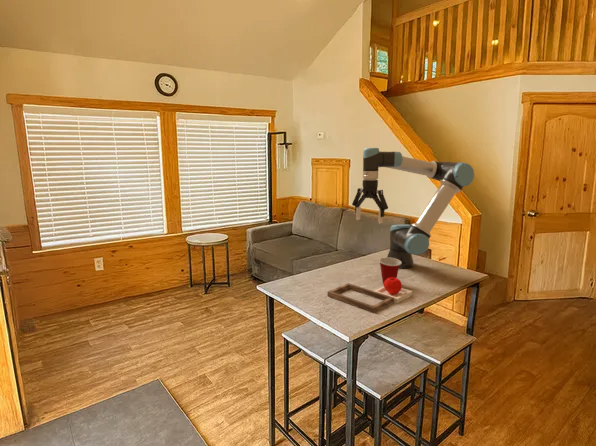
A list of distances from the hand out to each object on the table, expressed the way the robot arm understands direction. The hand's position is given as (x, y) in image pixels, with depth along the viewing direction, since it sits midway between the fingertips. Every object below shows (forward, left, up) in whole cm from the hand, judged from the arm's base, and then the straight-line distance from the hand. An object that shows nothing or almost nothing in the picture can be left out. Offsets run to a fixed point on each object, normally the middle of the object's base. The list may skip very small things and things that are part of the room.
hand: (369, 221), depth 190 cm
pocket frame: (+28, +16, -29) cm, 43 cm away
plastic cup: (+3, +15, -29) cm, 33 cm away
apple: (+14, +24, -28) cm, 39 cm away
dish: (+14, +24, -29) cm, 40 cm away
